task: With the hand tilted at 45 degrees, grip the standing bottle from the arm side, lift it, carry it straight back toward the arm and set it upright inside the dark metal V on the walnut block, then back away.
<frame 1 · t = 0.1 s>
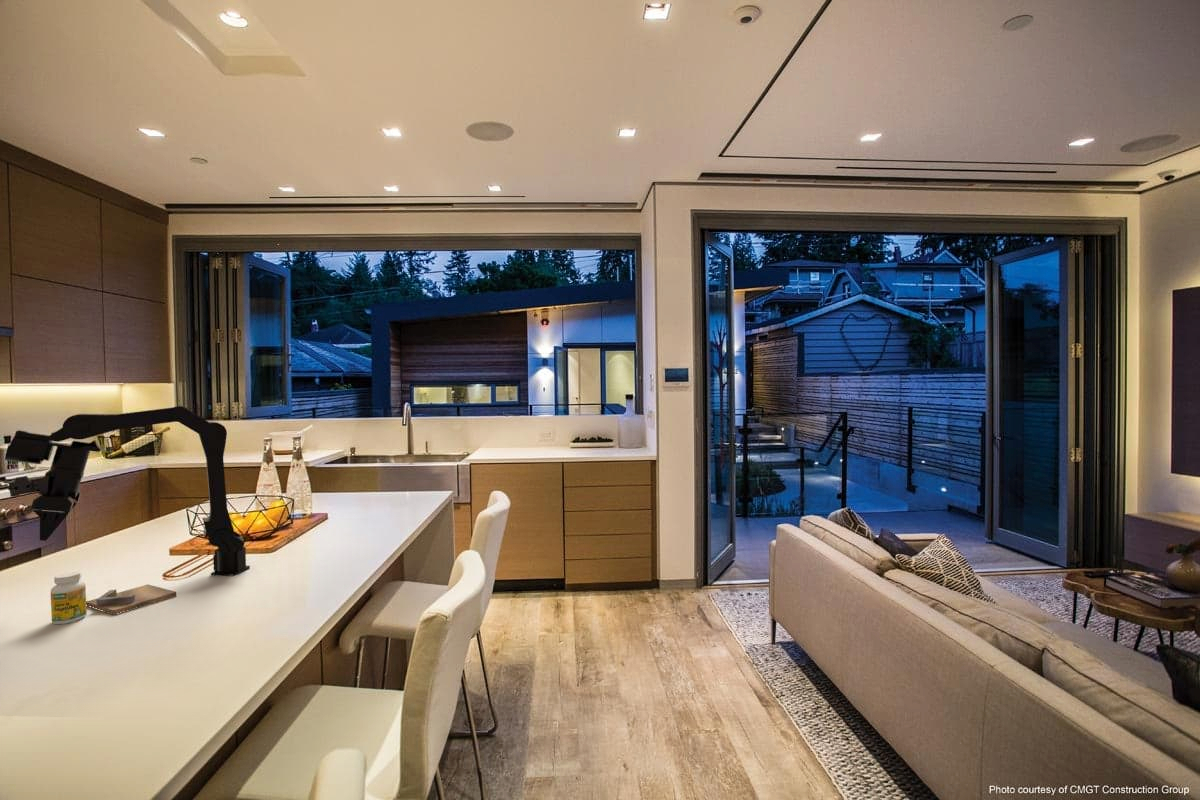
hand: (46, 536, 127), 15 cm above the kitchen island, tool pointing down, fingers open, 9 cm apart
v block: (132, 600, 128), on the kitchen island
supplement bottle: (69, 620, 118), on the kitchen island
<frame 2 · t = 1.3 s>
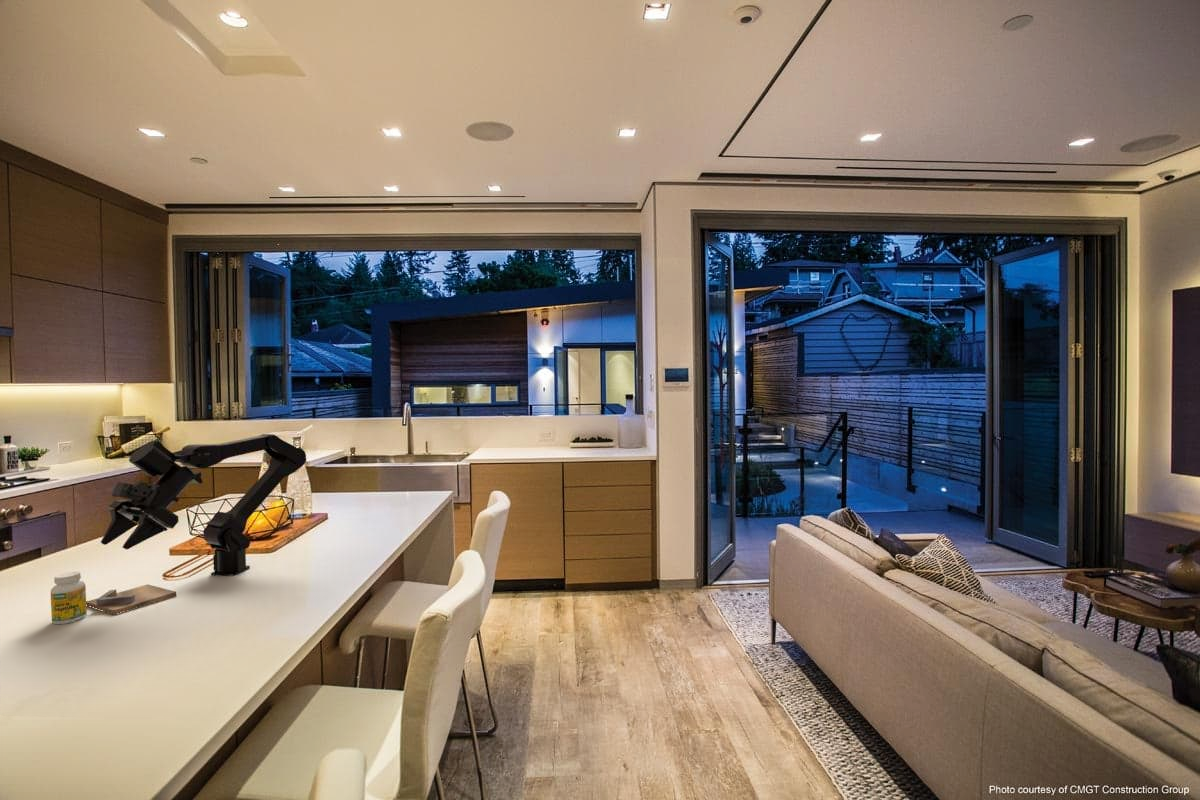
hand: (113, 546, 125), 13 cm above the kitchen island, tool tilted 45°, fingers open, 9 cm apart
nothing on the kitchen island moved.
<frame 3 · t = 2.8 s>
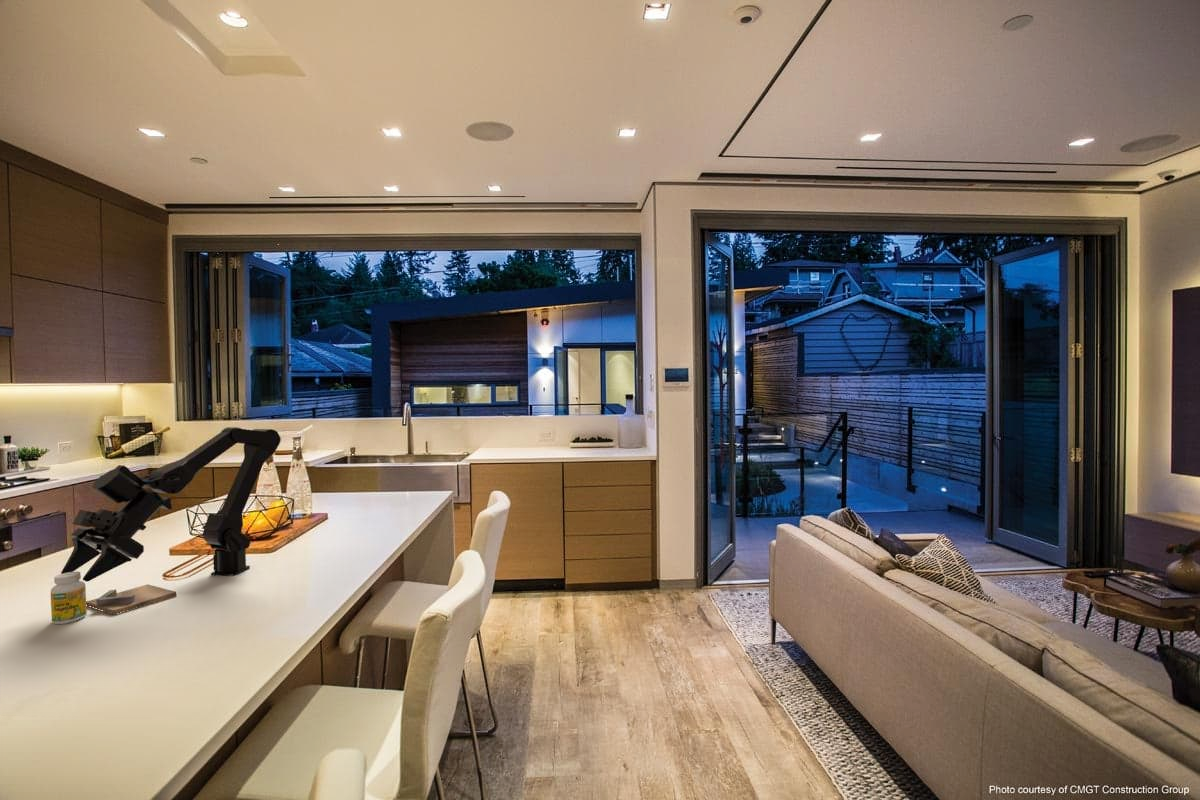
hand: (73, 577, 119), 9 cm above the kitchen island, tool tilted 45°, fingers open, 9 cm apart
nothing on the kitchen island moved.
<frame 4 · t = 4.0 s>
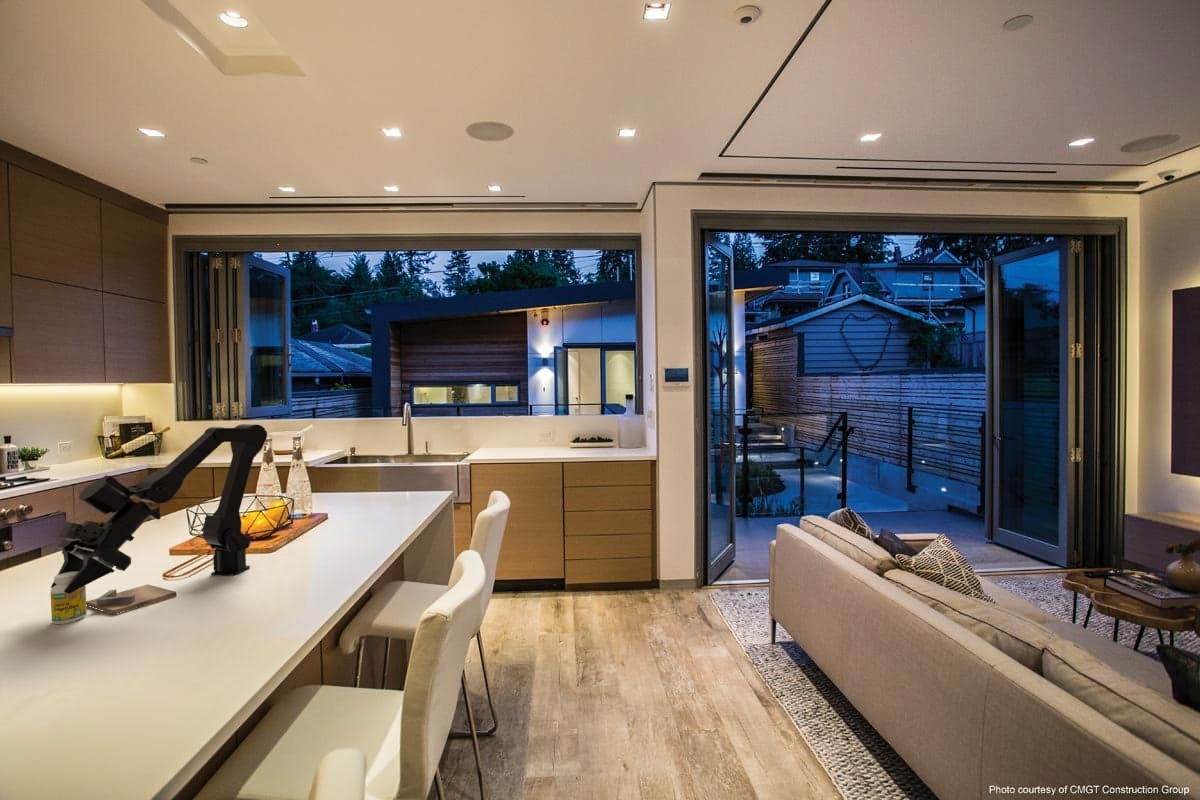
hand: (59, 590, 117), 7 cm above the kitchen island, tool tilted 45°, fingers closed on supplement bottle, 5 cm apart
supplement bottle: (69, 620, 118), on the kitchen island, touching gripper
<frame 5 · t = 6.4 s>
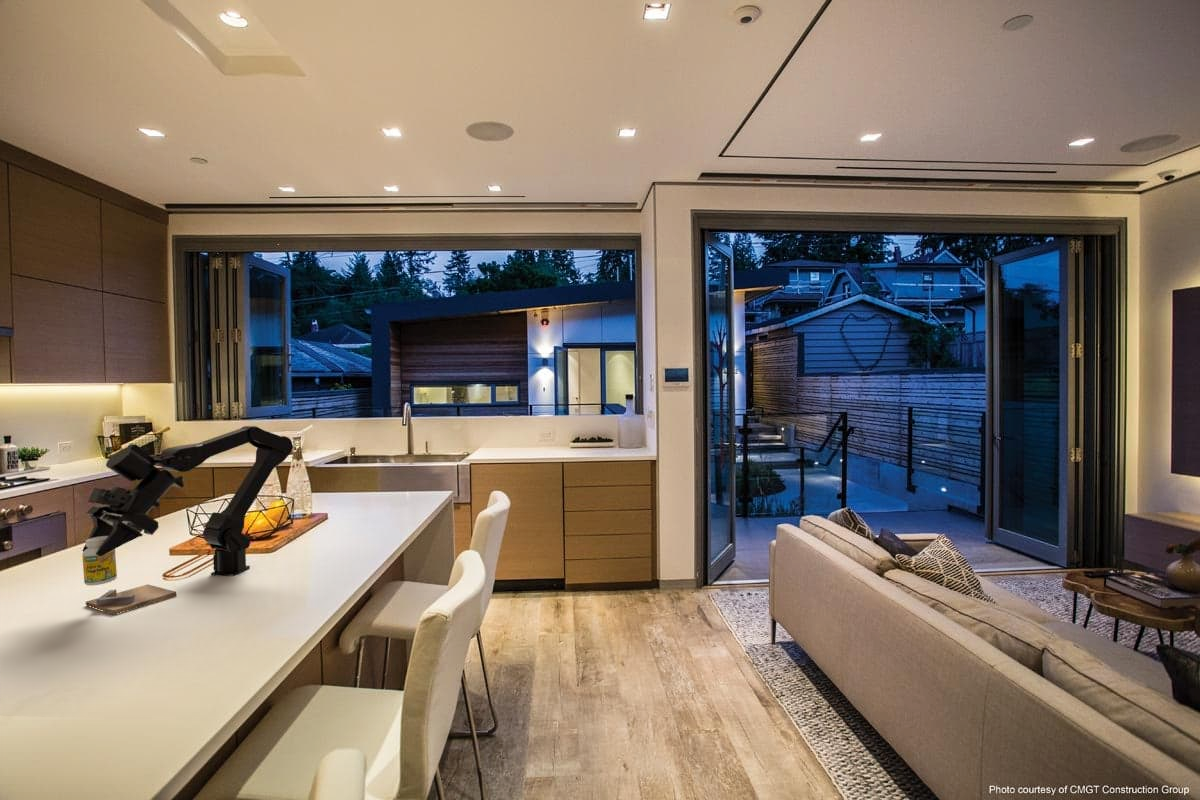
hand: (91, 553, 121), 13 cm above the kitchen island, tool tilted 45°, fingers closed on supplement bottle, 5 cm apart
supplement bottle: (100, 582, 123), point 6 cm above the kitchen island, touching gripper
when the fingers open (8 cm above the kitchen island, at t = 8.7 s): supplement bottle stays where it is, resting on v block.
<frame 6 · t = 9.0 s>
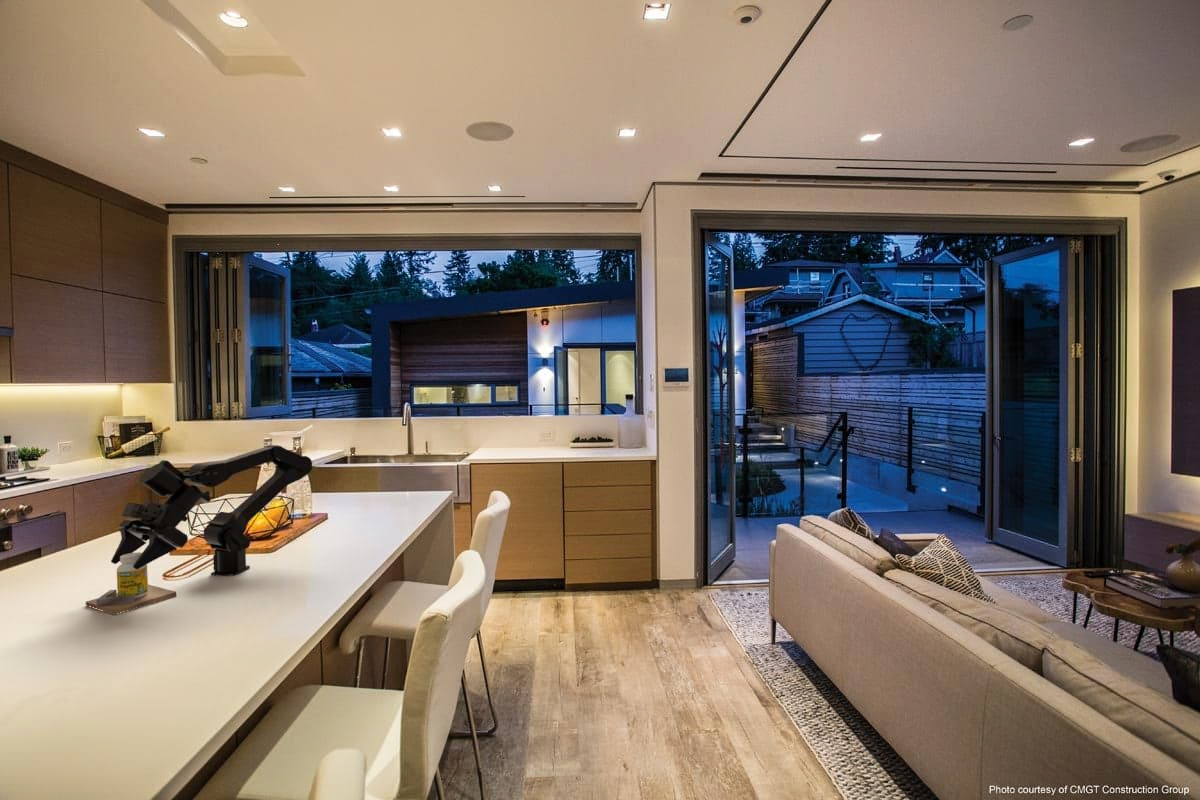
hand: (123, 565, 127), 9 cm above the kitchen island, tool tilted 45°, fingers open, 9 cm apart
supplement bottle: (133, 597, 128), point 1 cm above the kitchen island, touching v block
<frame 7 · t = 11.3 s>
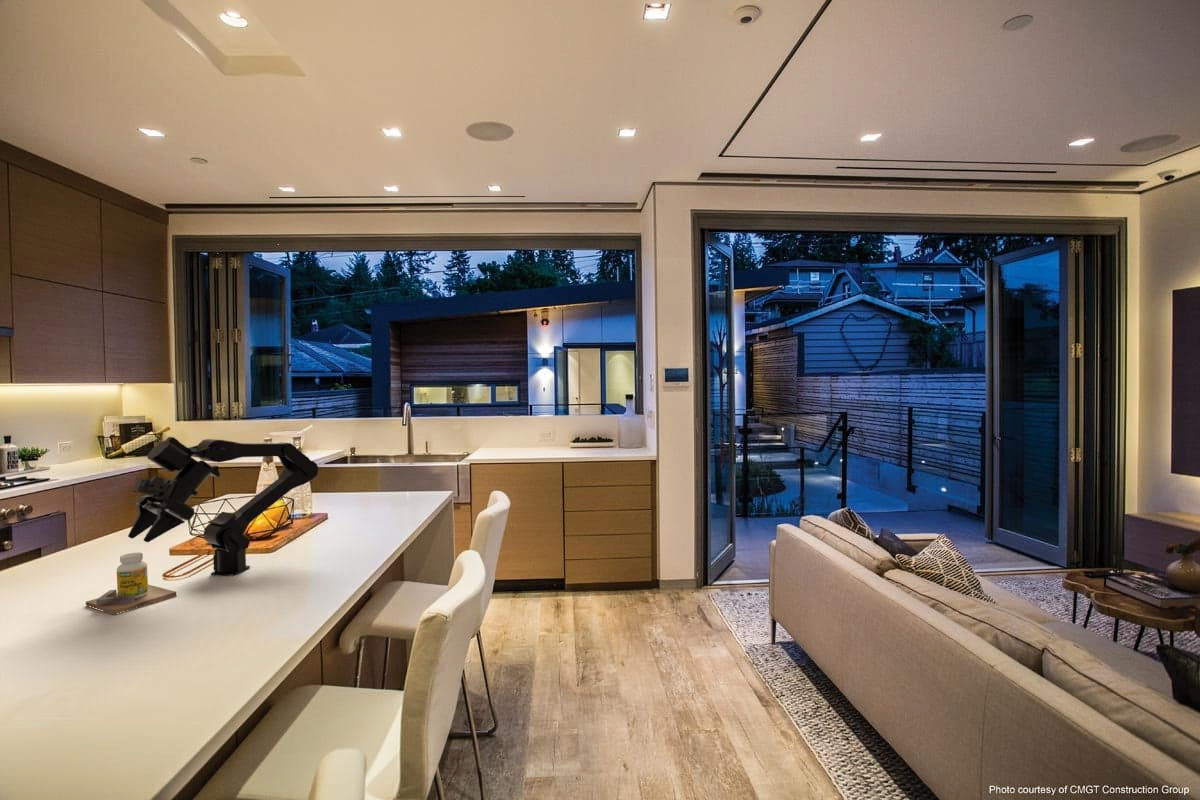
hand: (137, 539, 130), 13 cm above the kitchen island, tool tilted 40°, fingers open, 9 cm apart
nothing on the kitchen island moved.
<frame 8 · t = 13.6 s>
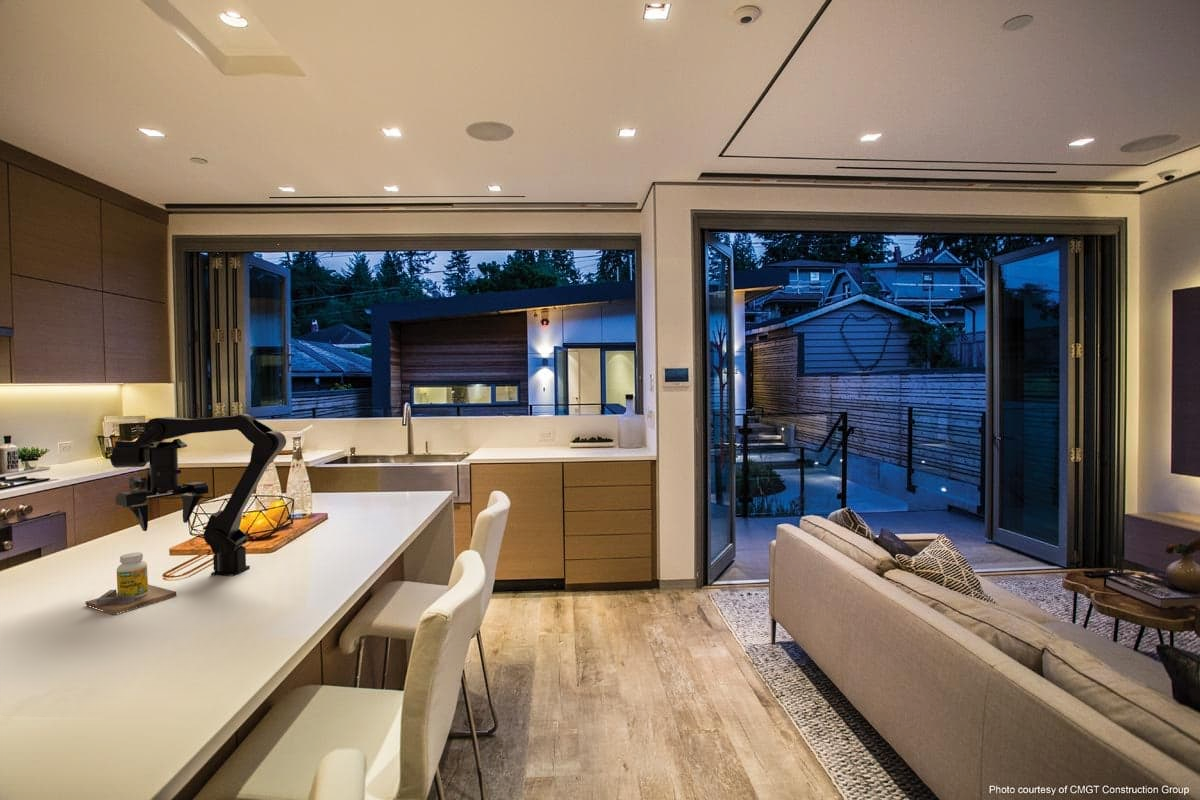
hand: (165, 526, 144), 13 cm above the kitchen island, tool pointing down, fingers open, 9 cm apart
nothing on the kitchen island moved.
at the end: supplement bottle 0.1 cm off-centre on the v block, point 0.8 cm above the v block's base; supplement bottle tilted 0°; the gripper is holding nothing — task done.
